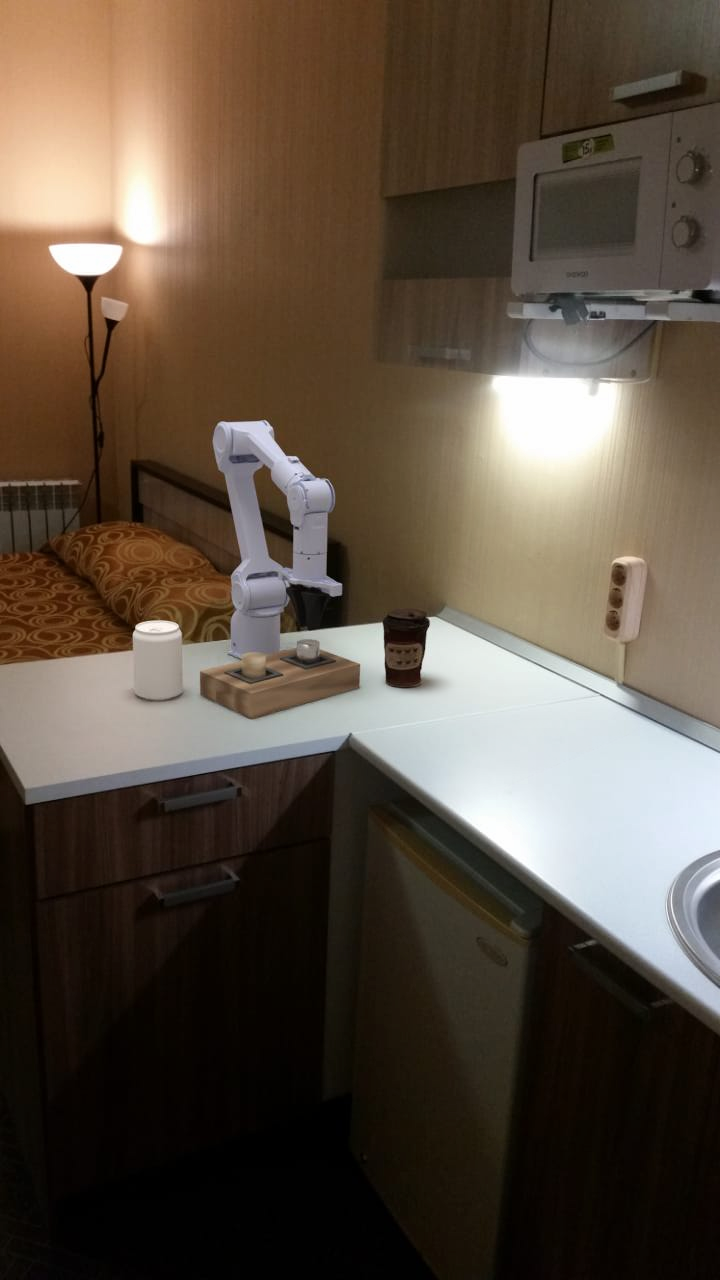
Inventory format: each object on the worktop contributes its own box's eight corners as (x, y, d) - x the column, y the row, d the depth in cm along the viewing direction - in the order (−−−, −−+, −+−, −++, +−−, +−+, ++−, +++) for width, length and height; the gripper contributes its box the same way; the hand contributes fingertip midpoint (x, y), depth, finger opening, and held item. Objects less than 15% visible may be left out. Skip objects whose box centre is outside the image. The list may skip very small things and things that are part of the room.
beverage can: (188, 687, 188) (187, 621, 185) (175, 703, 181) (174, 634, 177) (142, 684, 189) (140, 618, 185) (128, 700, 181) (126, 631, 178)
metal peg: (291, 666, 191) (292, 642, 190) (308, 662, 194) (309, 637, 192) (306, 672, 188) (307, 647, 187) (323, 667, 191) (324, 643, 190)
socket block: (200, 695, 185) (199, 669, 183) (307, 667, 201) (307, 643, 199) (251, 719, 175) (251, 691, 174) (359, 687, 191) (360, 662, 190)
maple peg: (237, 680, 183) (237, 655, 182) (255, 675, 186) (255, 650, 184) (251, 686, 180) (251, 661, 179) (270, 681, 183) (270, 656, 182)
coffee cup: (427, 692, 190) (431, 620, 186) (380, 690, 190) (382, 618, 186) (425, 675, 198) (429, 607, 195) (380, 674, 198) (383, 605, 195)
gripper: (264, 546, 187) (264, 622, 191) (320, 562, 177) (318, 641, 181) (296, 541, 192) (294, 615, 196) (352, 556, 182) (349, 634, 186)
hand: (308, 627), depth 189 cm, fingers closed
